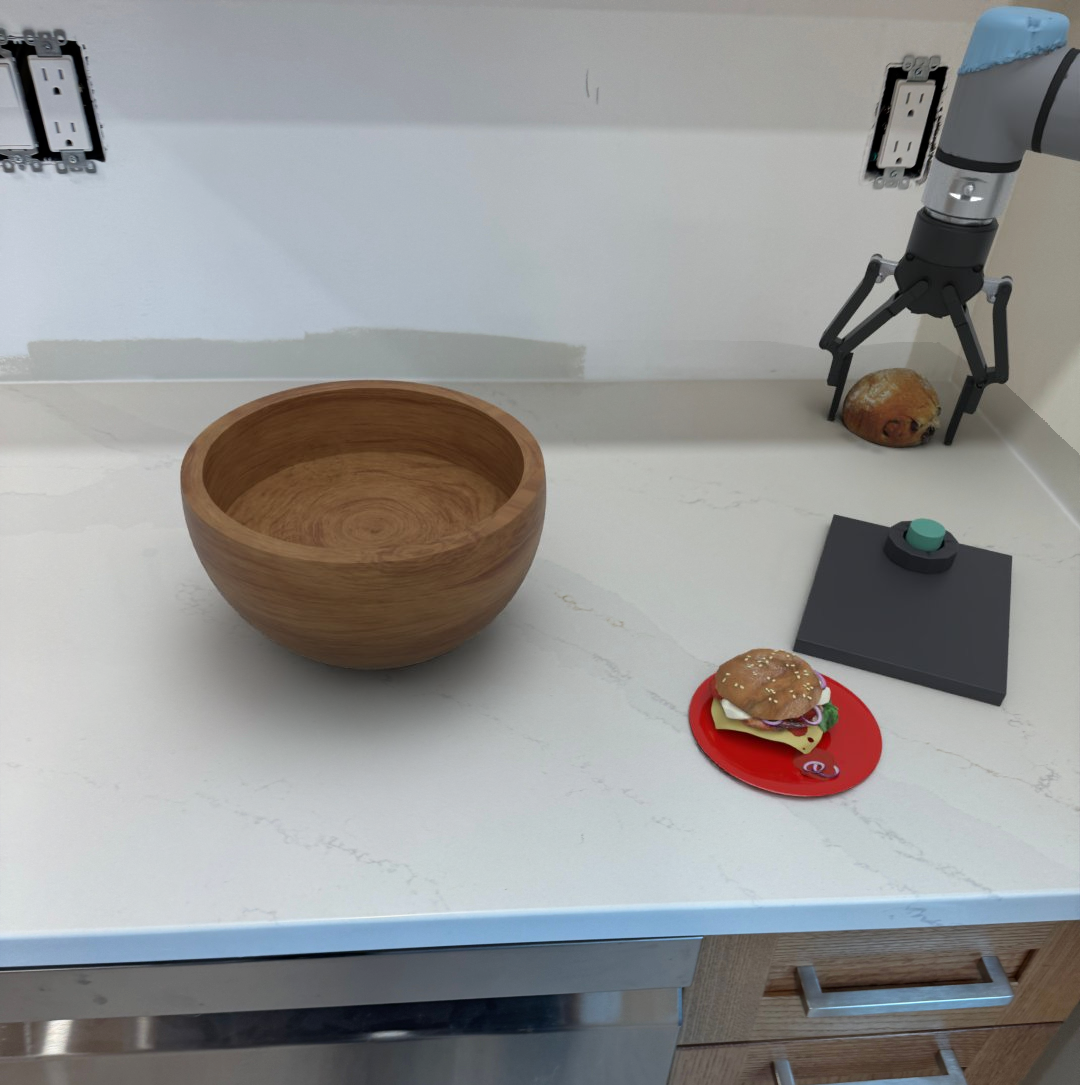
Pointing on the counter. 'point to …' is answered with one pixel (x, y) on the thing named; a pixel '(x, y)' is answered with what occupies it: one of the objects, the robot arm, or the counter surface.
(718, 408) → the counter surface
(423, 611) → the bowl
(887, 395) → the bread roll
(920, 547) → the button
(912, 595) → the scale
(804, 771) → the hamburger
